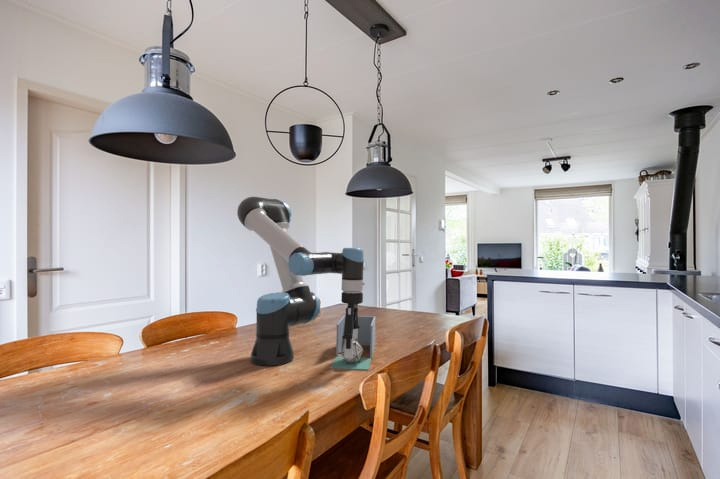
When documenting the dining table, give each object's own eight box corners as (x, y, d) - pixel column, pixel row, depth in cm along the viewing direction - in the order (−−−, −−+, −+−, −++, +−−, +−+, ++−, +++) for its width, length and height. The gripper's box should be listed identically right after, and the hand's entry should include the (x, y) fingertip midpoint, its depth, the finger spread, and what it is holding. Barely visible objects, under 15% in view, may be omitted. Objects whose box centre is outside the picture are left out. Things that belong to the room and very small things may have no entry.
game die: (356, 374, 129) (364, 356, 124) (333, 365, 130) (340, 346, 124) (362, 355, 137) (370, 337, 131) (340, 346, 137) (347, 328, 132)
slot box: (336, 356, 138) (336, 324, 139) (343, 344, 156) (343, 315, 156) (372, 358, 137) (372, 325, 137) (375, 345, 155) (375, 316, 155)
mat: (330, 368, 125) (330, 367, 125) (336, 357, 137) (336, 356, 137) (368, 370, 124) (368, 369, 124) (371, 359, 136) (371, 358, 136)
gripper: (359, 297, 118) (357, 364, 118) (366, 287, 143) (365, 343, 142) (335, 296, 119) (334, 362, 118) (346, 287, 143) (345, 342, 143)
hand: (351, 352), depth 130 cm, fingers open, 13 cm apart
